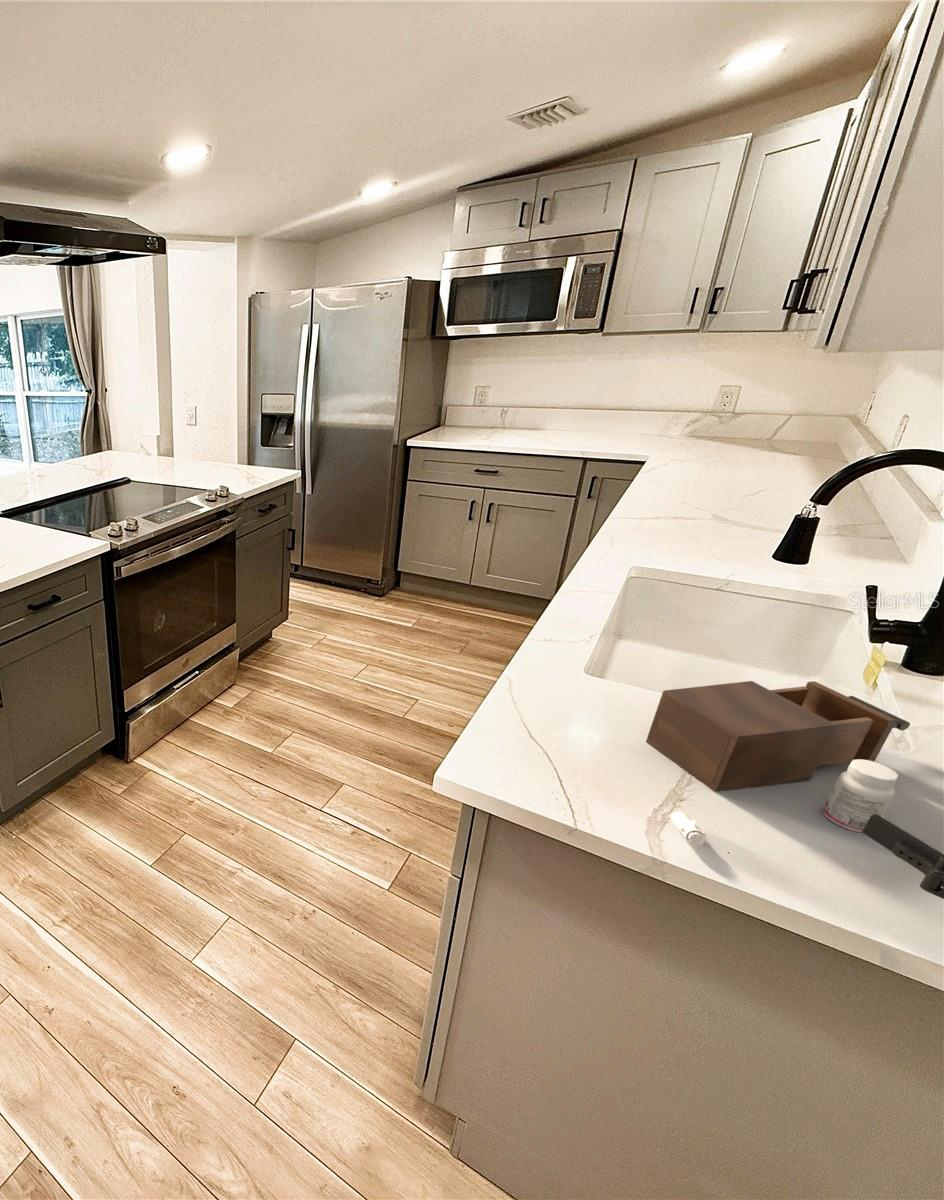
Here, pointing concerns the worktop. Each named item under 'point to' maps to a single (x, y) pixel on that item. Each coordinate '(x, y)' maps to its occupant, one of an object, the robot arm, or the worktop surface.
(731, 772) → the cabinet
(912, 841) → the robot arm
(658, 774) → the worktop surface
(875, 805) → the pill bottle
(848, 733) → the drawer
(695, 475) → the worktop surface
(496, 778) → the worktop surface
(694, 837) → the small white plastic part
